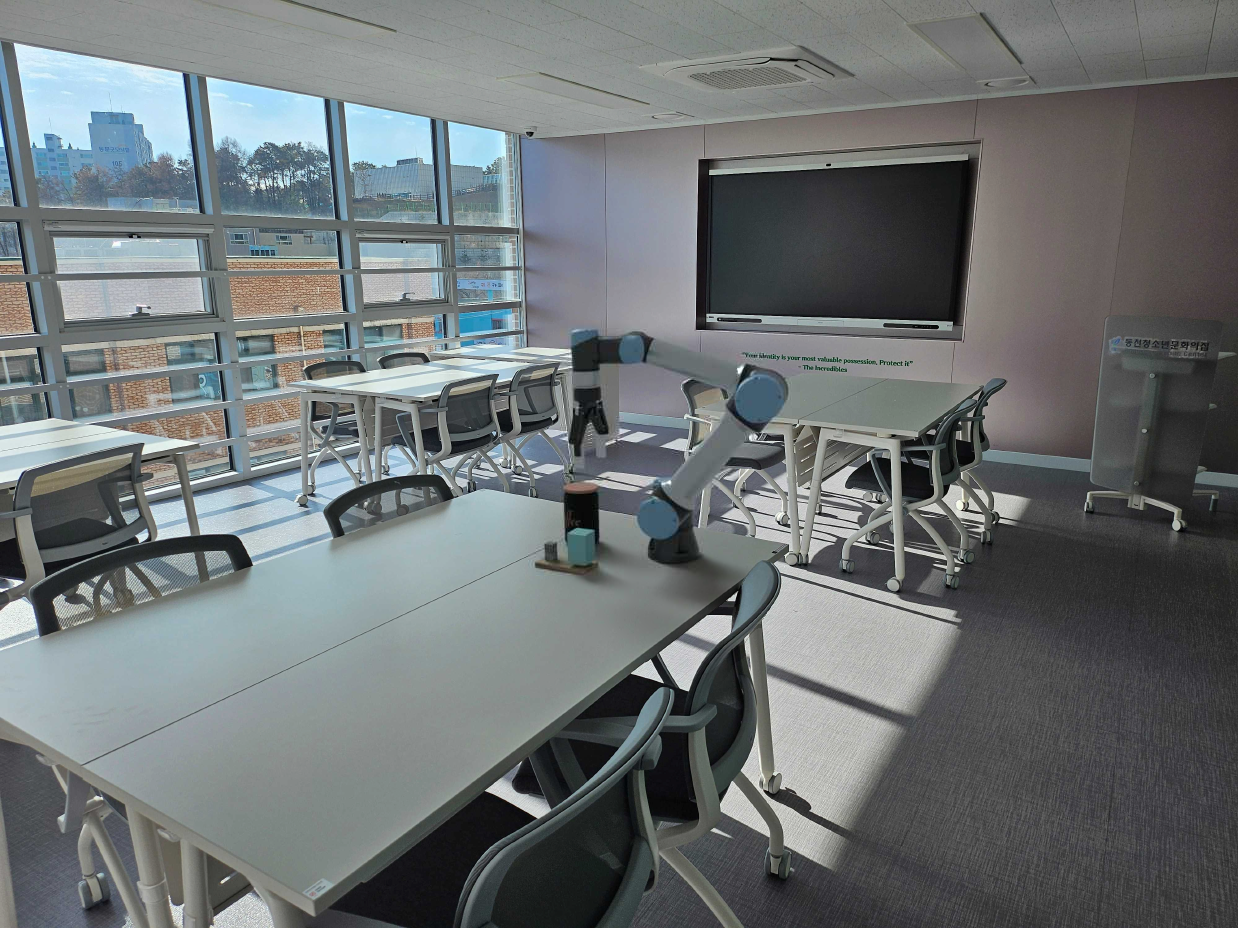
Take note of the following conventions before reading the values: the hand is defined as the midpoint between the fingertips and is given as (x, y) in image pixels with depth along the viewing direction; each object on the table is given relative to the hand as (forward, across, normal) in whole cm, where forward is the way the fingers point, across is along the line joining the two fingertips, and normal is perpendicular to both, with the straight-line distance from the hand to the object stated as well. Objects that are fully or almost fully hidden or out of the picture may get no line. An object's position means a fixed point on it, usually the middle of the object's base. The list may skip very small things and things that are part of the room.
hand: (590, 462), depth 231 cm
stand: (+30, +4, -7) cm, 31 cm away
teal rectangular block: (+28, +4, -2) cm, 28 cm away
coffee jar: (+30, -16, -12) cm, 36 cm away
